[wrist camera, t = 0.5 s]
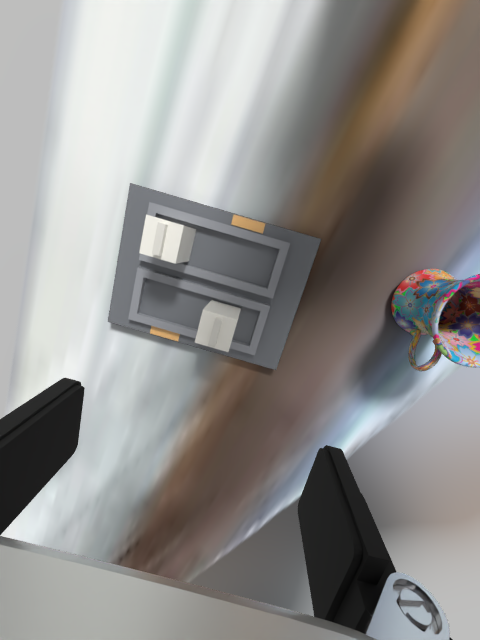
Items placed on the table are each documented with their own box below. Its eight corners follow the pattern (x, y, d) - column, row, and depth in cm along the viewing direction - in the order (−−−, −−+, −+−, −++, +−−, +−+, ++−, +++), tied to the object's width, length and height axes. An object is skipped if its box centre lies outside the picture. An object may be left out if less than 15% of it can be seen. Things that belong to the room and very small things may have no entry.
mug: (420, 250, 35) (488, 251, 24) (475, 292, 36) (563, 310, 25) (356, 325, 38) (393, 355, 27) (409, 363, 39) (464, 404, 28)
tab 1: (165, 220, 34) (143, 213, 28) (196, 229, 34) (181, 224, 28) (158, 252, 35) (135, 253, 29) (189, 261, 35) (173, 264, 29)
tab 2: (211, 299, 36) (201, 311, 30) (240, 308, 36) (237, 321, 30) (204, 327, 37) (192, 344, 31) (232, 336, 37) (227, 354, 31)
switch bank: (135, 185, 35) (127, 181, 33) (318, 239, 35) (322, 238, 33) (113, 318, 40) (104, 323, 37) (275, 365, 40) (276, 372, 38)
